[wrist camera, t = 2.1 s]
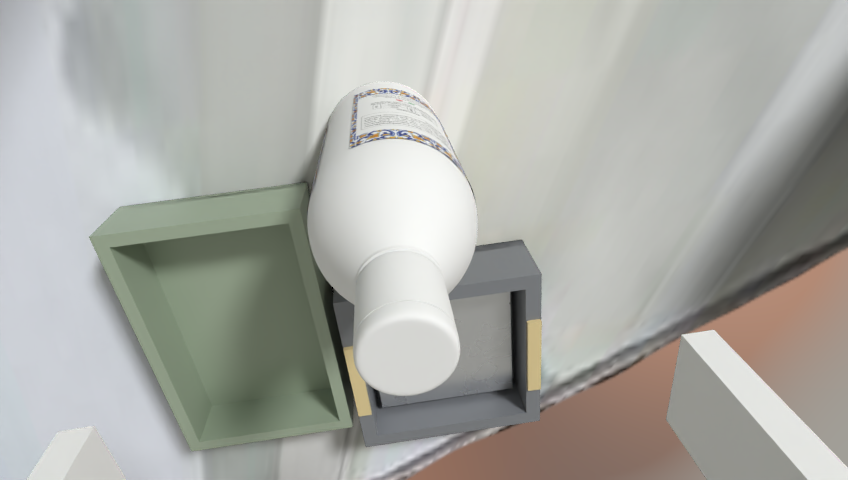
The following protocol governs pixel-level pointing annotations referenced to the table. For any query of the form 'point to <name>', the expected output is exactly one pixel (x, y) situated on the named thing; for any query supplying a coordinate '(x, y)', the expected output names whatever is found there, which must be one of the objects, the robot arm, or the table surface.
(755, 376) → the robot arm
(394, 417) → the gray square tray
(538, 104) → the table surface
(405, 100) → the bath foam
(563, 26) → the table surface
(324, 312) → the green tray
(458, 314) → the plate
